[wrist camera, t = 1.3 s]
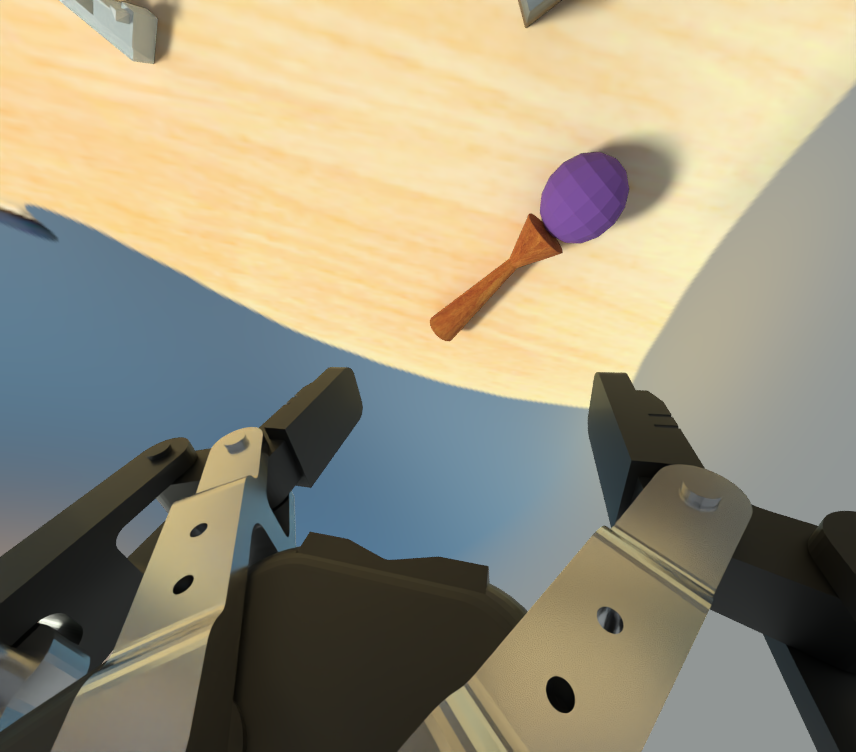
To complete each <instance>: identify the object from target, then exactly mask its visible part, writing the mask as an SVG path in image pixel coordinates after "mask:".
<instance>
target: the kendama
mask: <svg viewBox="0 0 856 752" xmlns="http://www.w3.org/2000/svg"><path fill="white" fill-rule="evenodd" d="M628 192H629V185H628V179H627V173H626V170H625V169H624V168H623V166H622V165H621V164H620V162H619V161H618V160H617V159H616V158H614V157H611V156H609V155H606V154H604V153H601V152H592V153H581V154H579V155H577V156H575V157H573V158H571V159H569V160H567V161H565V162H564V163H563V164H562V165H561V166H560V167H559V168H558V169H557V170H556V171H555V172H554V173H553V174H552V175H551V176H550V178H549V180H548V182H547V184H546V186H545V188H544V190H543V192H542V196H541V206H540V214H541V217H542V221H543V222H542V221H541V220H540V219H538V218H537V217H536V216H535V215H533V214H529V215H528V217H527V220H526V222H525V224H524V227H523V229H522V231H521V233H520V236H519V238H518V240H517V242H516V245H515V247H514V249H513V252H512V254H511V256H510V258H509V259H508V260H507V261H506V262H504V263H503V264H502V265H500V266H499V267H498V268H496V269H495V270H494V271H492V272H491V273H490V274H489V275H487V276H486V277H485V278H483V279H482V280H481V281H479V282H478V283H477V284H475V285H474V286H473V287H471V288H470V289H469V290H467V291H466V292H465V293H463V294H462V295H461V296H459V297H458V298H457V299H455V300H454V301H453V302H452V303H450V304H449V305H448V306H446V307H445V308H444V309H442V310H441V311H440V312H438V313H437V314H436V315H434V316H433V317H432V318H431V320H430V326H431V328H432V330H433V331H434V333H435V334H436V335H437V336H438V337H439V338H441V339H442V340H445V341H451V340H452V339H453V338H454V337H455V336H456V335H457V334H458V333H459V331H460V330H461V329H462V328H463V327H464V326H465V325H466V324H467V323H468V322H469V320H470V319H471V318H472V317H473V316H474V315H475V314H476V313H477V312H478V311H479V309H480V308H481V307H482V306H483V305H484V304H485V303H486V302H487V301H488V300H489V298H490V297H491V296H492V295H493V294H494V293H495V292H496V291H497V290H498V289H499V287H500V286H501V285H502V284H503V283H504V282H505V281H506V280H507V279H508V278H509V276H510V275H511V274H512V273H513V272H514V271H515V270H516V269H517V268H518V267H521V266H525V265H528V264H531V263H534V262H537V261H540V260H543V259H546V258H549V257H552V256H555V255H558V254H561V253H563V252H562V248H561V246H560V244H559V242H558V241H557V239H559V240H561V241H563V242H565V243H583V242H586V241H589V240H591V239H594V238H597V237H599V236H600V235H601V234H602V233H604V232H605V231H606V230H607V229H609V228H610V227H611V226H612V225H614V223H615V222H616V220H617V219H618V217H619V216H620V214H621V213H622V211H623V210H624V208H625V205H626V201H627V196H628ZM556 238H557V239H556Z"/></svg>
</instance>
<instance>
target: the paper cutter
mask: <svg viewBox="0 0 856 752" xmlns="http://www.w3.org/2000/svg"><path fill="white" fill-rule="evenodd" d="M59 1H60V2H62V3H63V4H64V5H65V6H66V7H68V8H69V9H70V10H71V11H73V12H74V13H75V14H76V15H77V16H79V17H80V18H81V19H82V20H84V21H85V22H86V23H87V24H88V25H90V26H91V27H92V28H93V29H94V30H96V31H97V32H98V33H99V34H101V35H102V36H103V37H104V38H105V39H107V40H108V41H109V42H110V43H111V44H113V45H114V46H115V47H116V48H118V49H119V50H120V51H121V52H122V53H124V54H125V55H126V56H127V57H129V58H130V59H131V60H132V61H136V62H143V63H150V64H154V58H155V46H156V35H157V23H158V18H157V17H155V16H154V15H153V14H152V13H151V12H150V11H149V10H147V9H146V8H142V7H139V6H136V5H132V4H129V3H125V2H122V1H121V2H118V1H115V0H59Z"/></svg>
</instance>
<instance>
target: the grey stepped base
mask: <svg viewBox="0 0 856 752" xmlns="http://www.w3.org/2000/svg"><path fill="white" fill-rule="evenodd" d="M561 1H562V0H518V2H519V6H520V9H521V13H522V17H523V21H524V25H525V28H527V27H528V26H529V25H530V24H532V23H533V22H534V21H536V20H537V19H538V18H540V17H541V16H542V15H544V14H545V13H546V12H547V11H549V10H550V9H551V8H553V7H554V6H555V5H557V4H558V3H559V2H561Z"/></svg>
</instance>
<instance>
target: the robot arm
mask: <svg viewBox="0 0 856 752" xmlns="http://www.w3.org/2000/svg"><path fill="white" fill-rule="evenodd" d="M362 409H363V406H362V401H361V397H360V393H359V390H358V386H357V383H356V379H355V376H354V373H353V371H352V369H351V368H347V367H346V368H345V367H341V368H340V367H330V368H328V369H327V370H325V371H324V372H323V373H322V374H321V375H320V376H319V377H318V378H317V379H316V380H315V381H314V382H312V383H310V384H309V385H307V386H305V387H303V388H302V389H301V390H300V391H299V392H298V393H297V394H296V395H295V397H293V398H291V399H290V400H289V401H288V402H287V405H284V406H282V408H280V409H279V410H278V411H277V412H276V413H275V414H274V415H273V416H271V418H269V419H268V420H267V421H266V422H265V423H264V424H263V425H262V426H260V427H259V428H256V427H248V428H243V429H239V430H236V431H234V432H232V433H230V434H228V435H226V436H224V437H223V438H221V439H220V440H219V441H217V442H216V443H215V444H214V445H213V447H212V448H210V449H204V450H198V451H195V450H194V448H193V447H192V445H191V443H190V442H189V440H188V439H186V438H182V437H181V438H180V437H179V438H173V439H169V440H166V441H163V442H160V443H158V444H156V445H154V446H152V447H150V448H149V449H147V450H145V451H144V452H142V453H141V454H140V455H138V456H137V457H136V458H134V459H133V460H132V461H130V462H129V463H128V464H126V465H125V466H124V467H122V468H121V469H119V470H118V471H117V472H115V473H114V474H112V475H111V476H110V477H108V478H107V479H106V480H104V481H103V482H102V483H100V484H99V485H98V486H96V487H95V488H94V489H92V490H91V491H89V492H88V493H87V494H85V495H84V496H83V497H81V498H80V499H78V500H77V501H76V502H75V503H73V504H72V505H70V506H69V507H68V508H66V509H65V510H63V511H62V512H61V513H60V514H58V515H57V516H55V517H54V518H53V519H51V520H50V521H48V522H47V523H46V524H44V525H43V526H42V527H41V528H39V529H38V530H36V531H35V532H33V533H32V534H31V535H29V536H28V537H27V538H25V539H24V540H23V541H22V542H20V543H19V544H17V545H16V546H15V547H13V548H12V549H10V550H9V551H8V552H6V553H5V554H4V555H2V556H1V557H0V752H641V751H642V749H643V747H644V745H645V743H646V741H647V739H648V737H649V735H650V733H651V731H652V728H653V726H654V724H655V722H656V720H657V718H658V716H659V714H660V712H661V710H662V707H663V705H664V703H665V701H666V699H667V697H668V695H669V693H670V691H671V689H672V687H673V684H674V682H675V680H676V678H677V676H678V674H679V672H680V670H681V668H682V666H683V663H684V661H685V659H686V657H687V655H688V653H689V651H690V649H691V647H692V644H693V642H694V640H695V638H696V636H697V634H698V632H699V630H700V628H701V625H702V624H703V622H704V620H705V617H706V615H707V613H708V611H709V609H710V610H713V611H715V612H717V613H719V614H721V615H724V616H726V617H728V618H730V619H732V620H734V621H736V622H739V623H741V624H743V625H745V626H747V627H749V628H752V629H754V630H756V631H758V632H761V633H763V635H764V637H765V640H766V642H767V644H768V646H769V648H770V650H771V652H772V654H773V657H774V659H775V661H776V663H777V665H778V667H779V669H780V672H781V674H782V676H783V678H784V680H785V682H786V685H787V687H788V689H789V691H790V693H791V695H792V698H793V700H794V702H795V704H796V706H797V708H798V710H799V713H800V715H801V717H802V719H803V721H804V723H805V726H806V728H807V730H808V732H809V734H810V736H811V738H812V741H813V743H814V745H815V747H816V749H817V751H818V752H856V512H854V511H838V512H833V513H831V514H828V515H827V516H826V517H825V518H824V519H823V520H822V522H821V523H820V524H819V526H816V525H813V524H810V523H807V522H803V521H800V520H797V519H793V518H790V517H787V516H784V515H780V514H777V513H773V512H771V511H767V510H765V509H762V508H759V507H756V506H754V505H751V503H750V501H749V499H748V498H747V496H746V495H745V494H744V493H743V491H742V490H741V489H739V488H738V487H737V486H736V485H735V484H733V483H732V482H730V481H729V480H727V479H725V478H724V477H722V476H720V475H718V474H716V473H714V472H712V471H709V470H707V469H705V468H704V466H703V465H702V463H701V461H700V460H699V459H698V457H697V455H696V453H695V452H694V450H693V449H692V447H691V445H690V444H689V442H688V441H687V439H686V437H685V436H684V434H683V433H682V431H681V429H678V425H677V423H676V422H675V420H674V418H672V417H671V413H670V412H669V410H668V409H667V407H666V405H665V404H664V402H663V401H661V400H660V399H659V398H657V397H656V396H654V395H653V394H652V393H650V392H649V391H641V390H635V388H634V386H633V384H632V382H631V380H630V379H629V377H628V375H627V374H626V373H609V372H597V373H596V374H595V376H594V381H593V388H592V394H591V401H590V407H589V414H588V434H589V439H590V442H591V447H592V451H593V455H594V459H595V463H596V467H597V471H598V475H599V480H600V484H601V488H602V492H603V495H604V500H605V504H606V508H607V512H608V517H609V521H610V525H611V529H609V528H608V527H606V526H602V527H601V528H600V529H598V530H597V531H596V532H595V533H594V534H593V535H592V537H591V538H590V539H589V540H588V541H587V542H586V544H585V545H584V546H583V547H582V549H581V550H580V551H579V552H578V553H577V554H576V555H575V557H574V558H573V559H572V560H571V562H570V563H569V564H568V565H567V566H566V567H565V568H564V570H563V571H562V572H561V573H560V574H559V576H558V577H557V578H556V579H555V581H554V582H553V583H552V584H551V585H550V586H549V587H548V589H547V590H546V591H545V592H544V593H543V594H542V596H541V597H540V598H539V599H538V600H537V602H536V603H535V604H534V605H533V606H532V607H531V609H530V610H529V611H527V610H526V609H525V608H524V607H523V606H522V605H520V604H519V603H518V602H517V601H516V600H515V599H513V598H512V597H511V596H510V595H508V594H507V593H505V592H504V591H502V590H501V589H499V588H497V587H495V586H493V585H492V584H490V583H489V568H488V566H484V565H478V564H474V563H469V562H464V561H458V560H453V559H448V558H443V557H427V558H413V559H400V560H386V559H383V558H381V557H380V556H378V555H376V554H374V553H372V552H371V551H369V550H367V549H365V548H363V547H361V546H360V545H358V544H356V543H354V542H353V541H351V540H349V539H345V538H340V537H334V536H330V535H324V534H319V533H314V532H309V534H308V536H307V537H306V539H305V540H304V542H303V544H302V545H301V546H300V547H296V535H295V500H294V495H293V493H292V489H293V488H294V486H295V485H296V486H303V487H310V488H311V487H312V486H313V484H314V483H315V482H316V480H317V479H318V477H319V476H320V475H321V473H322V472H323V470H324V469H325V468H326V466H327V465H328V463H329V462H330V461H331V459H332V457H333V456H334V455H335V453H336V452H337V451H338V449H339V448H340V446H341V445H342V444H343V442H344V441H345V439H346V438H347V437H348V435H349V434H350V432H351V431H352V429H353V428H354V427H355V425H356V424H357V422H358V421H359V420H360V418H361V415H362ZM154 499H157V500H158V501H159V503H160V504H161V505H162V506H163V508H164V509H165V510H166V511H167V512H168V516H167V519H166V520H165V521H164V522H163V523H162V524H161V525H160V526H159V527H158V528H157V529H156V530H155V531H154V532H153V533H152V534H151V535H150V536H149V537H148V538H147V539H146V540H145V541H144V542H143V543H142V544H141V545H140V546H139V547H138V548H137V549H136V550H135V551H134V552H133V553H132V554H131V555H130V556H129V557H128V558H126V557H125V556H124V555H123V554H122V553H121V552H120V551H119V550H118V549H117V546H116V539H117V536H118V534H119V532H120V531H121V530H122V528H123V527H124V526H125V525H126V524H128V523H129V522H130V521H131V520H132V519H133V518H134V517H135V516H136V515H138V513H140V512H141V511H142V510H143V509H144V508H145V507H147V506H148V505H149V504H150V503H151V502H152V501H153V500H154ZM38 621H39V623H37V622H38ZM112 651H113V653H112V655H111V656H110V658H109V660H108V661H106V662H104V663H103V661H104V660H105V659H106V658H107V657H108V656H109V654H110V653H111V652H112ZM102 663H103V664H102Z"/></svg>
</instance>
